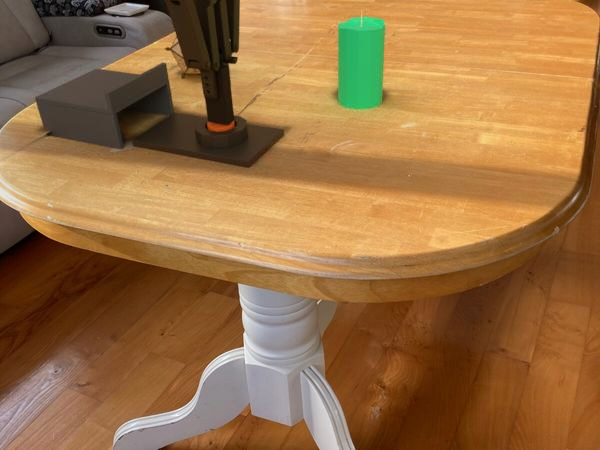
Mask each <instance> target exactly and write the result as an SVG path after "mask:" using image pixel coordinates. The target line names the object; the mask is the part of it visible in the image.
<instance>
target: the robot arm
mask: <svg viewBox="0 0 600 450" xmlns="http://www.w3.org/2000/svg"><path fill="white" fill-rule="evenodd" d="M164 3H165V4H166V7H167V11H168V12H169V17H170V20H171V23H172V26H173V29H174V33H175V37H176V36H177V39H178V42H179V46H180V49H181V52H182V55H183V58H184V62H185V65H186V67H187V68H192V69H198V70H199V71H200V74H199V75H200V79H201V80H200V81H201V88H202V94H203V97H204V101H205V109H206V117H208V122H213V123H220V124H226V125H228V124H230V123H231V122H232V121H234V115H235V112H234V104H233V96H232V95H233V94H232V80H231V72H230V65H236V64H237V63H238V60H239V58H238V56H232V55H233V54H237V53H238V52H239V50H240V19H241V18H240V17H241V15H240V12H241V0H164Z"/></svg>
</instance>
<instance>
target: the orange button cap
mask: <svg viewBox="0 0 600 450" xmlns="http://www.w3.org/2000/svg"><path fill="white" fill-rule="evenodd" d="M207 127H208V130H209V131H215V132H218V131H227V130H230V129H233V128H234V127H235V124H234V121H232V122H231V123H230V124H228V125H226V124H220V123H213V122H208V123H207Z"/></svg>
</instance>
